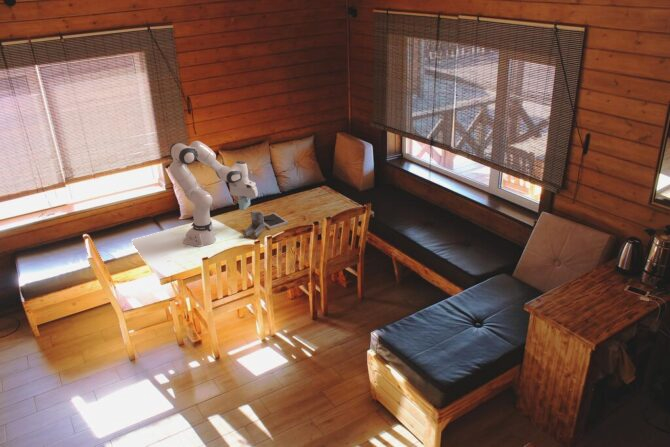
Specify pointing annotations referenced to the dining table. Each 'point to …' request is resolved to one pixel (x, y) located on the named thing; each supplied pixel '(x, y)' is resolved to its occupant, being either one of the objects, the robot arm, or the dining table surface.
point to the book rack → (255, 226)
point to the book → (243, 203)
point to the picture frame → (274, 221)
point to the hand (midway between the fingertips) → (244, 201)
